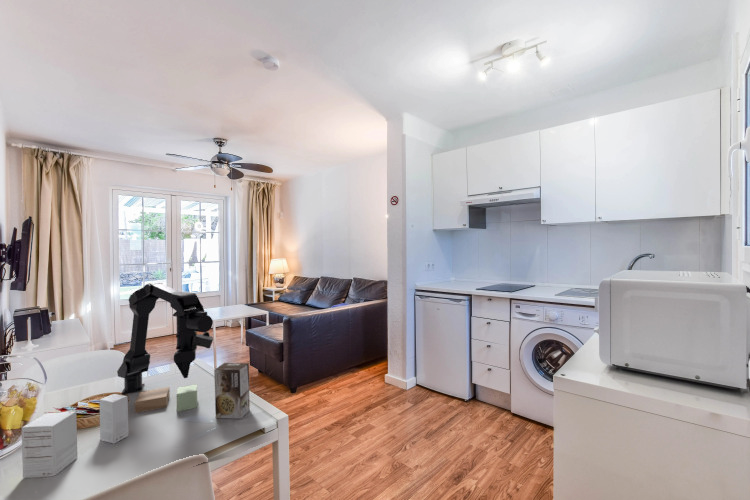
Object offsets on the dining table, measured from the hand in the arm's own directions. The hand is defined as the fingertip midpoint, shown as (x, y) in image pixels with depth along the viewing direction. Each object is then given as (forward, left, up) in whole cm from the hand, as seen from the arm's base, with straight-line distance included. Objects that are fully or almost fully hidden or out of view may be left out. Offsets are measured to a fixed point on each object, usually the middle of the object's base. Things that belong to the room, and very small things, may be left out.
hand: (186, 373), depth 117 cm
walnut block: (-7, -11, -12) cm, 17 cm away
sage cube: (0, 0, -12) cm, 12 cm away
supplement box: (+22, -29, -12) cm, 38 cm away
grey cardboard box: (+14, +14, -12) cm, 23 cm away
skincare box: (+13, -18, -12) cm, 25 cm away
